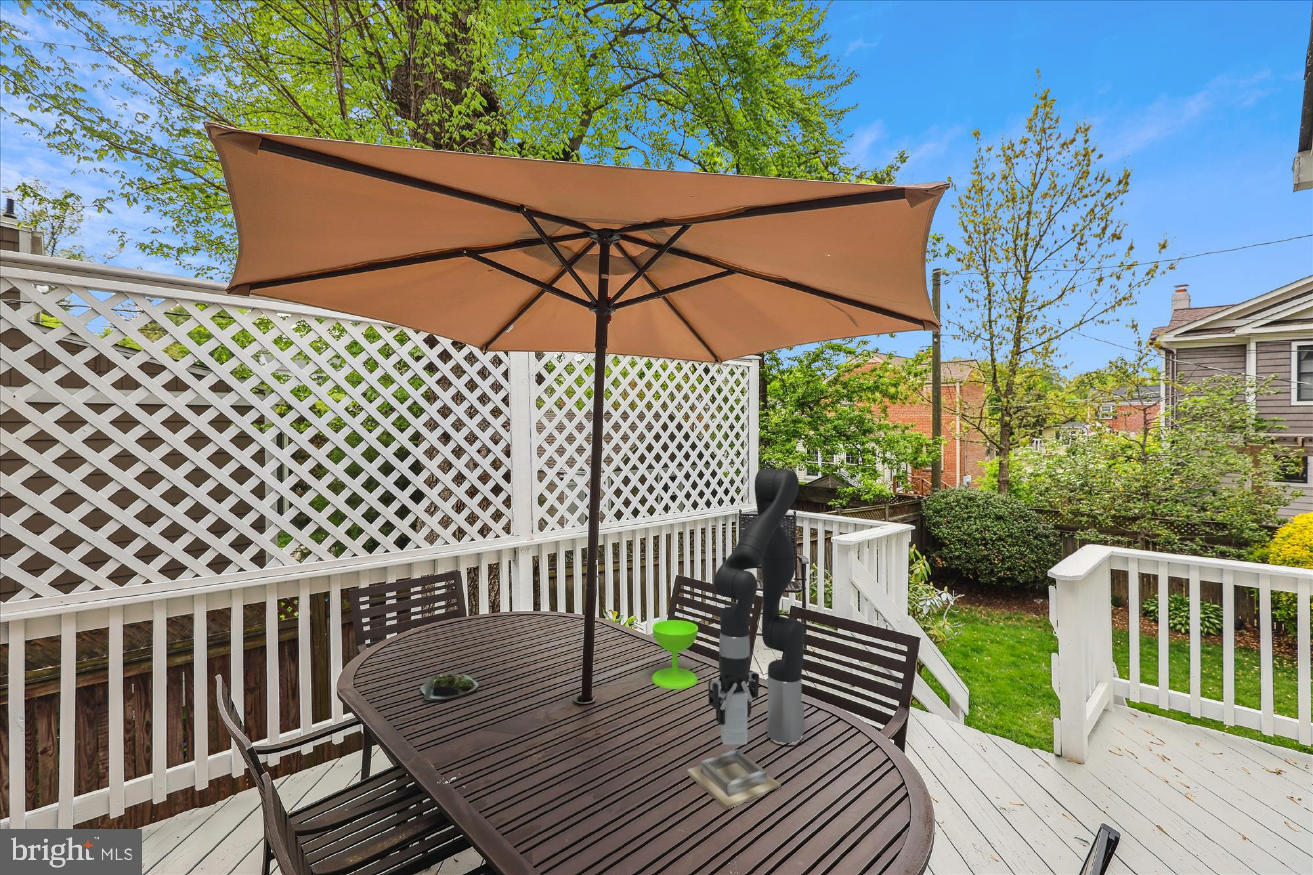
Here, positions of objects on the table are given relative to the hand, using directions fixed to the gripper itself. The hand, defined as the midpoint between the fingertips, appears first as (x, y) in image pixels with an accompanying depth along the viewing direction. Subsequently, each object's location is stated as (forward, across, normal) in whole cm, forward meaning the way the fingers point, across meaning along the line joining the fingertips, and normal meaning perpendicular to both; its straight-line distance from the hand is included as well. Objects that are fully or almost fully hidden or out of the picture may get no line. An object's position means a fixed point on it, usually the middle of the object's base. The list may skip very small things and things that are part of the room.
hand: (733, 719), depth 135 cm
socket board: (+15, 0, 0) cm, 15 cm away
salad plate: (+16, +51, -85) cm, 100 cm away
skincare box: (+5, 0, 0) cm, 5 cm away
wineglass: (+15, -19, -57) cm, 62 cm away
